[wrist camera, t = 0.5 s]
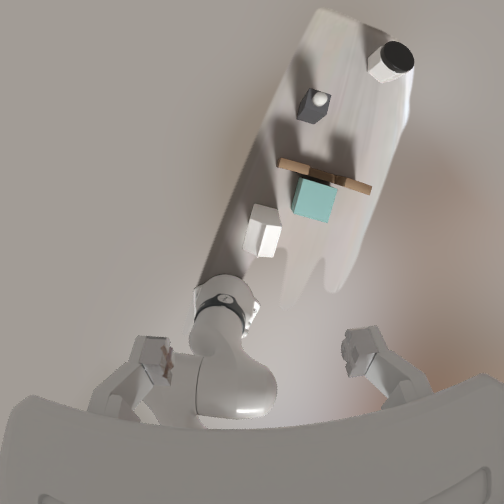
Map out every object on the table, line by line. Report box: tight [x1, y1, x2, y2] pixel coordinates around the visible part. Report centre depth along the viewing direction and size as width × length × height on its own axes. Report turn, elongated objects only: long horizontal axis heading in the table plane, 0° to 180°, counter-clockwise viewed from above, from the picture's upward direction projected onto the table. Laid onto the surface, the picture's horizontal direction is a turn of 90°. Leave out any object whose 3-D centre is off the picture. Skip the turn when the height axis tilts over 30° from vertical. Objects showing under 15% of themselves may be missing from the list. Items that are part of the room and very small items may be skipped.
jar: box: [367, 41, 414, 83], centre depth 46 cm, size 9×8×12 cm
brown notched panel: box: [276, 158, 372, 195], centre depth 57 cm, size 2×20×12 cm, turn 76°
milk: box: [242, 203, 282, 258], centre depth 56 cm, size 6×6×22 cm
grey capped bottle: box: [297, 88, 331, 124], centre depth 50 cm, size 4×4×17 cm
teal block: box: [291, 177, 337, 223], centre depth 61 cm, size 8×8×7 cm
